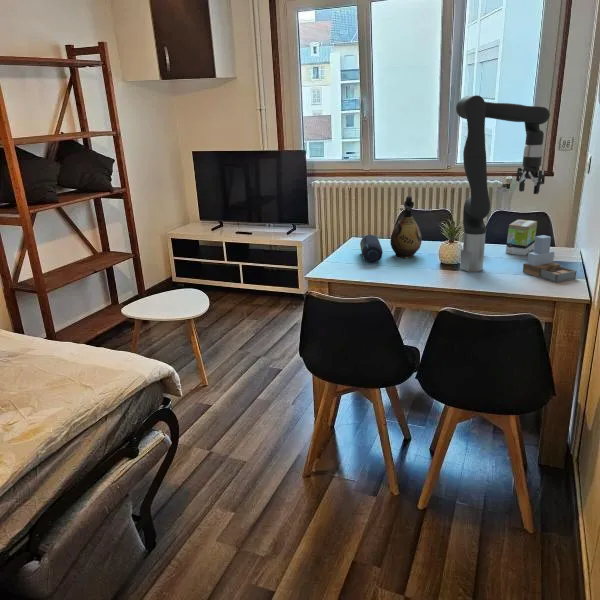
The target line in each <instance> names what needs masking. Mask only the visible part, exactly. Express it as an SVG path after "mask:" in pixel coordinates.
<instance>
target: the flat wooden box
mask: <svg viewBox="0 0 600 600" xmlns="http://www.w3.org/2000/svg"><path fill="white" fill-rule="evenodd" d="M559 266H561V264H560V263H557V262H554V261H553V263H548V264H543V265H538V266H532V265H529V264H527V262H524V263H523V266H522V272H523V273H525V274H528V275H531V276H534V277H536V278H540V274H541V270H545V271H553V270H558V269H559Z"/></svg>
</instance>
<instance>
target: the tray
mask: <svg viewBox="0 0 600 600" xmlns="http://www.w3.org/2000/svg"><path fill="white" fill-rule="evenodd" d="M560 270H565V271H569V272H566V273H561V274H554V273H552V272H556V271H560ZM539 278H540V279H543V280H546V281H550V282H552V283H555V284H558V283H562V282H566V281H572V280H575V279H576V278H577V270H575V269H571V268H569V267H565V266H562V265H560V266H559V269H558V270H553V271H545V270H541V274H540V277H539Z"/></svg>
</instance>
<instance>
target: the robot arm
mask: <svg viewBox="0 0 600 600" xmlns="http://www.w3.org/2000/svg"><path fill="white" fill-rule="evenodd" d="M455 110H456V114H457V115H458V116H459V117H460V118H462V119H465V120H466V124H467V134H466V135H467V136H466V140H465V143H464V147H463V154H462V156H463V158H462V159H463V168H464V173H465V176H466V179H467V181H468V184H469V185H468V186H469V189H470V196H469V197H467V198H466V200H465V202H464V204H463V209H462V210H463V213H462V215H463V216H462V217H463V218H462V225H463V242H462V248H463V249H462V248H461V249H460V263H459V269H460V270H462V271H465V272H468V273H469V272H470V273H473V272H474V273H475V272H482V271H483V269H484V258H485V245H486V234H487V233H486V232H487V231H486V230H487V227H486V224H485V221H484V219H485V218H486V217H487V216H488V215H489V213H490V210H491V202H490V196H489V191H488V190H489V189H488V171H487V170H488V169H487V167H488V166H487V151H486V150H487V149H486V132H485V131H486V124H485V123H486V119H494V120H499V121H505V122H513V123H524V129H525V135H526V136H525V143H524V149H523V155H522V167H518V168H517V170H516V171H517V172H516V178H515V181H516V182H518V183H519V186H518V191H519V192H521V193H522V192H524V191H525V185H526V184H525V183H526V181H527V180H531V181H532V182H533V184H534V186H533V195H538V194H539V192H540V188H541V187H540V186H541V185H544V184H545V179H546V170H545V169H540V167H541V166H542V161H543V160H542V159H543V158H542V157H543V153H544V152H543V149H544V148H543V144H544V136H545V135H544V131H543V130H541V128H540V125H544V124H545V123H546V122H548V121H549V119H550V118H551V117H550V116H551V114H550V113H551V112H550V111H549V109H548V108H546V107H545V106H539V105H537V106H535V105H534V106H532V105H525V104H519V103H511V102H510V103H509V102H489V101H485V99H484V98H483V97H482V96H481V95H478V94H477V95H476V94H475V95H474V94H472V95H465V96H464V97H461V98H460V99H459V100H458V102H457V103H456V106H455Z"/></svg>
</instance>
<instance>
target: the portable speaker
mask: <svg viewBox="0 0 600 600" xmlns="http://www.w3.org/2000/svg"><path fill="white" fill-rule="evenodd" d="M359 244H360V246H359V247H360V250H361V254H362V258H363V260H365V261H366V262H368V263H370V264H375V263H378V262H380V260H381V259H382V257H383V247H382V245H381V243H380V240H379V238H378V237H377V236H375V235H373V234H367V235H365V236H363V237H362V238H361V240H360V243H359Z"/></svg>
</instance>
